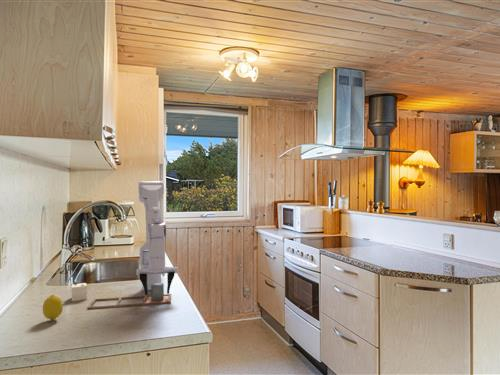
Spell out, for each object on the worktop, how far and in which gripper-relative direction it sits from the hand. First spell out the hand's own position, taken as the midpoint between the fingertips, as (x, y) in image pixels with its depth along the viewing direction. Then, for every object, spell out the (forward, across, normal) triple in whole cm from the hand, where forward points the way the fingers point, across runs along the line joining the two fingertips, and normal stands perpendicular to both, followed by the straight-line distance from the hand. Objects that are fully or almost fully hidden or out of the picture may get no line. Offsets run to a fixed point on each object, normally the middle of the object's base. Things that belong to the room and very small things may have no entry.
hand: (157, 293), depth 135 cm
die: (+2, -29, +9) cm, 30 cm away
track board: (+2, -9, 0) cm, 9 cm away
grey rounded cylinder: (+2, 0, 0) cm, 2 cm away
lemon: (+3, -31, -14) cm, 34 cm away
